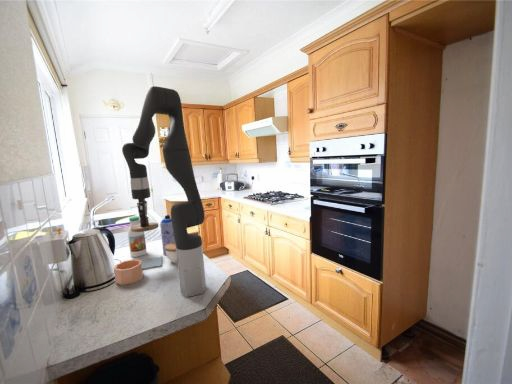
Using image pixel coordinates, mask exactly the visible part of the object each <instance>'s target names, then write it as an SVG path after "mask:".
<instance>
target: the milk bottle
mask: <svg viewBox="0 0 512 384" xmlns="http://www.w3.org/2000/svg"><path fill="white" fill-rule="evenodd" d="M138 224H140V217H139V215H138V216H137V215H136V216H131V217H129V227H128V231H127V233H128V234H127V237H128V246H129V254H130V256H131V257H134V258H136V257H141V256H144V255H146V254H147V244H146V243H147V242H146V236H145V231H144V232H133V231H131V227H133V226H135V225H138Z"/></svg>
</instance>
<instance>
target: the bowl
mask: <svg viewBox="0 0 512 384" xmlns="http://www.w3.org/2000/svg"><path fill="white" fill-rule="evenodd" d="M141 260H142V259H136V258H135V259H129V260H128V259H127V260H124V261H121V262H119V263H117V264H116V265H114V268H113V273H114V281H115V284H118V285H121V286H123V285H128V284H134V283H136V282H138V281H140V280H141V279H143V277H144V270H143V268H142V261H141Z"/></svg>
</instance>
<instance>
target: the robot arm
mask: <svg viewBox="0 0 512 384" xmlns="http://www.w3.org/2000/svg"><path fill="white" fill-rule="evenodd" d="M182 107H183V106H182V101H181V97H180V93H178V91H177V90H175V89H172V88H167V87H161V86H150V87H149V88H148V90H147V91H146V94H145V97H144V101H143V105H142V109H141V112H140V113H141V114H140V118H139V122H138V125H137V127H136V130H135V131H134V133H133V134H132V138H131V140H132V142H126V143H124V144H123V145H122V148H121V149H122V151H121V152H122V154H123V157H124V159H125V161H126V164H127V167H128V170H129V179H130V189H131V190H130V191H131V198H132V200H137V203H136V206H137V210H138V216H139V219H140V218H141V225H142V226H147V220H146V217H148V201H146V199H149V198H150V197H151V192H150V191H151V190H150V182H149V178H148V171H147V170H148V168H147V165H145V164H143V163H138V162H137V159H138V160H140V159H145V158H147V157H149V155H150V146H151V143H152V141H153V139H154V138H155V135H156V126H155V124H154V121H153V117H154V116H155V115H156V114H159V115H166V116H168V118H169V131H168V134H167V136H166V138H165V140H164V143H163V145H162V146H163V147H162V155H163V156H162V157H163V159H164V164H165V169H166V170H167V172H168V173H169V174H170V175H171V176H172V178H173V179H174V180H175V181H176V183H178V184H179V185H180V186H181V188H182V189H183V192H184V194H185V195H186V199H187V201H183V202H182V201H181V202H177V203H173V205H172V206H171V208H170V217H171V220H172V226H173V233H174V239H175V243H176V251H177V262H178V263H177V270H178V278H179V279H178V280H179V287H180V293H181V295H183V296H185V298H189V297H194V296H198V295H203V294H204V292H205V291H206V289H207V283H206V273H205V271H206V270H205V261H204V250H203V239H202V236H201V235H199V234H195V233H188V229H189V228H193V227H197V226H200V225H202V224H204V222H205V219H206V218H205V209H204V208H205V207H204V205H203V202H202V199H201V195H200V193H199V188H198V186H197V185H198V184H197V182H196V178H195V174H194V173H195V172H194V167H193V162H192V158H191V153H190V149H189V144H188V140H187V135H186V131H185V123H184V115H183V108H182Z"/></svg>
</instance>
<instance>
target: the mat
mask: <svg viewBox="0 0 512 384" xmlns="http://www.w3.org/2000/svg"><path fill="white" fill-rule="evenodd" d="M140 260H141V261H142V268H143V271H144V270H149V269H154V268H160V267H162V265H163V263H162V262H163V257H162V256H161V255H160V256H157V257H150V258H145V259H144V258H143V259H140Z"/></svg>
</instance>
